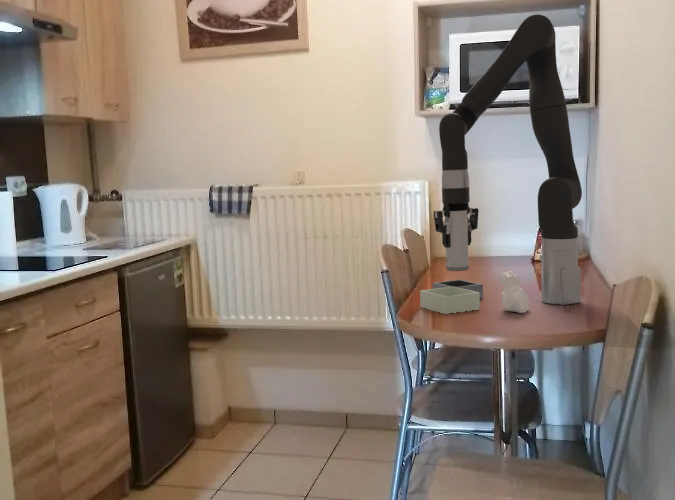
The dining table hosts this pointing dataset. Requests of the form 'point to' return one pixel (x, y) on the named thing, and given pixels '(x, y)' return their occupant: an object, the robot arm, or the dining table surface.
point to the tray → (450, 300)
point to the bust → (513, 293)
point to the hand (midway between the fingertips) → (457, 246)
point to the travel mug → (457, 239)
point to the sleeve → (461, 285)
